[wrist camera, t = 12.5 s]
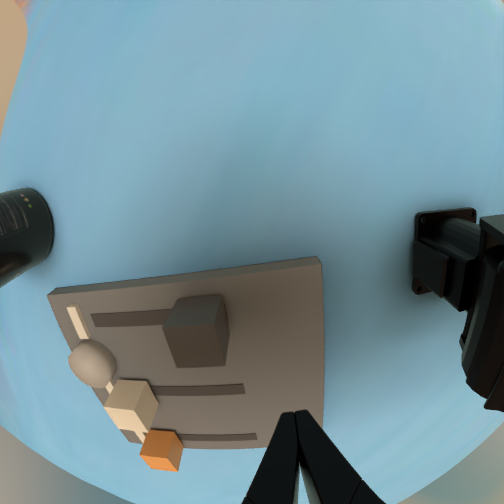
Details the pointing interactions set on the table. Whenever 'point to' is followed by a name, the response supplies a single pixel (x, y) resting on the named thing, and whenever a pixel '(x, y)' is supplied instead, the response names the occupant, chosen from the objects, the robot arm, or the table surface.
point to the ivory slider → (132, 405)
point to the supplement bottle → (23, 232)
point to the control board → (206, 378)
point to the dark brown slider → (198, 332)
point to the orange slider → (162, 450)
